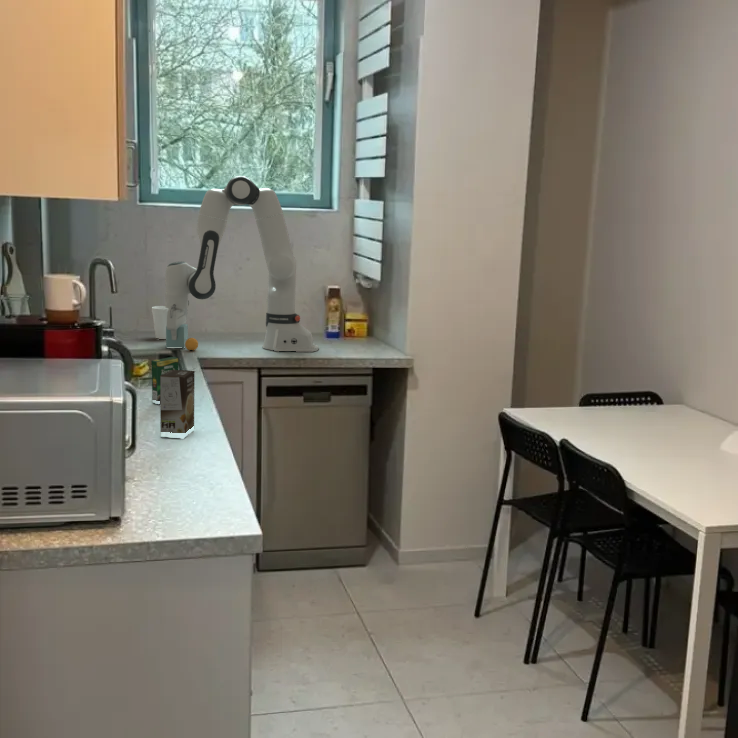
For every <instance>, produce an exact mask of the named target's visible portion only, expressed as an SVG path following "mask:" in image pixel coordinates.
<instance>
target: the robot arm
mask: <svg viewBox="0 0 738 738" xmlns="http://www.w3.org/2000/svg"><path fill="white" fill-rule="evenodd" d="M244 205H248V206H249V207H250V208H251V209H252V212H253V214H254V219H255V222H256V226H257V230H258V234H259V238H260V241H261V246H262V250H263V255H264V259H265V264H266V268H267V273H268V277H267V279H268V280H267V299H266V300H267V301H266V302H267V306H266V307H267V308H266V311H267V312H266V314H265V327H266V328H265V329H266V330H265V336H264V340H263V344H262V348H263V349H264V350H269V351H270V350H271V351H273V350H274V351H273V352H279V351H296V352H299V353H300V352H301V353H305V352H307V353H309V352H312V353H313V352H317V351H318V350H319V345H318V344H316V343H314V338H313V334H312V332H311V331H310V330H309V329H308V328H306V327H305V326H304V325H303V324H301V323H300V321H301V316H300V314H297V313H296V285H297V284H296V283H297V282H296V280H297V279H296V278H297V277H296V276H297V260H296V257H295V255H294V252H293V249H292V245H291V244H292V243H291V240H290V236H289V235H290V234H289V232H288V228H287V224H286V219H285V217H284V212H283V209H282V206H281V202H280V201H279V197H278V196H277V194H276V192H275V190H273V189H271V188H268V187H262V188H259V187H258V186H257V185H256V184H255V183H254V181H253V180H251V179H250V178H249V177H247V176H244V175H236V176H234V177H232V178H230V180H228V182H227V184H226V185H225V186H224V188H222V189H220V188H210V189H208V190H207V191H206V192H205V194H204V196H203V198H202V202H201V205H200V209H199V212H198V217H197V228H196V230H197V235H198V239H199V244H200V245H199V246H200V250H199V254H198V255H199V256H198V262H197V267H194V266H192V265H190V264H189V263H187V262H186V261H175V262H171V263H169V264H168V265H167V266H166V269H165V274H164V275H165V278H164V279H165V282H164V284H165V289H166V290H165V291H166V292H165V294H164V295H165V296H164V304H165V305H164V306H165V307H166V308H169V310H168V312H167V329H168V330H171V335H172V340H176V339H177V329H178V328H179V327H180V326H181V325H183V324H186V323H187V320H188V311H189V310H188V308H189V306H190V300H189V294H191V295H192V296H193V297H194V298H196V299H198V300H207V299H209V298H210V297H212V296H213V295H214V293H215V291H216V279H215V276H214V275H215V274H214V271H215V266H216V259H217V254H218V249H219V246H220V244H221V241H222V238H223V236H224V233H225V230H226V226H227V224H228V217H229V214H230V210H231V208H232V207H233V206H244Z"/></svg>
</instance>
